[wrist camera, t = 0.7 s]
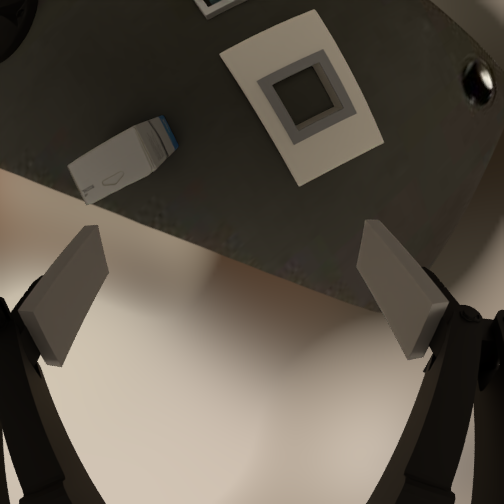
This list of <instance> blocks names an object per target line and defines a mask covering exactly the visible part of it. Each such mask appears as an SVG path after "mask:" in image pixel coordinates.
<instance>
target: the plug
mask: <svg viewBox="0 0 504 504" xmlns="http://www.w3.org/2000/svg"><path fill="white" fill-rule="evenodd" d="M209 1H210V3H211V4H212V5H214V4H216V3H217V2H219V1H221V0H209Z"/></svg>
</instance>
